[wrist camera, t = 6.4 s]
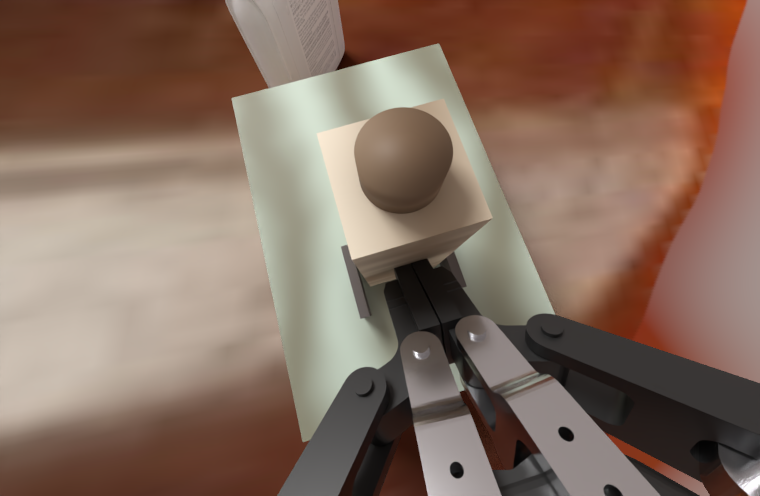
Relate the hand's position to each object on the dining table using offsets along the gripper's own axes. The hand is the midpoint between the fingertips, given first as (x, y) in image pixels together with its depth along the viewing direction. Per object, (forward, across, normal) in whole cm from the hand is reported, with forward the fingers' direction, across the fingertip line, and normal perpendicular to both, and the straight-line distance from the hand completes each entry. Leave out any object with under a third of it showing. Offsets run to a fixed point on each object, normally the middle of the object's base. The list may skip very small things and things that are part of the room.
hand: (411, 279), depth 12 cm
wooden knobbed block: (+5, 0, +1) cm, 5 cm away
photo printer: (+27, +2, -8) cm, 28 cm away
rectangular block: (+13, 0, +6) cm, 14 cm away
